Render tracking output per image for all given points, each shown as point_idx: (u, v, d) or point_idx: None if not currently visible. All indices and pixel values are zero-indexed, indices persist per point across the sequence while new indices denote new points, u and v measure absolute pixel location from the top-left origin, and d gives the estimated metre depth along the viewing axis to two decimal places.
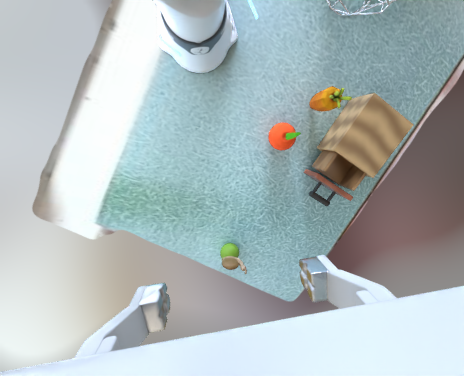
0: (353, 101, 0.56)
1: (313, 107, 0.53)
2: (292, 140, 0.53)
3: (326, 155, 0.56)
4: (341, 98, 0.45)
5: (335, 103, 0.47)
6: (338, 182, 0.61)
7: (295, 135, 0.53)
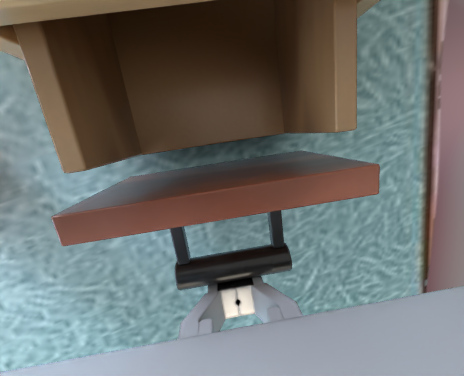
0: None
1: None
2: None
3: None
4: None
5: None
6: (276, 128, 0.13)
7: None
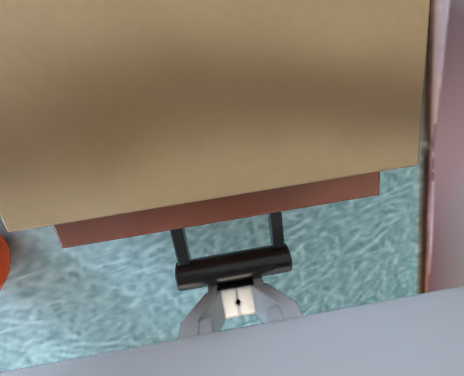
0: None
1: None
2: None
3: None
4: None
5: None
6: None
7: None
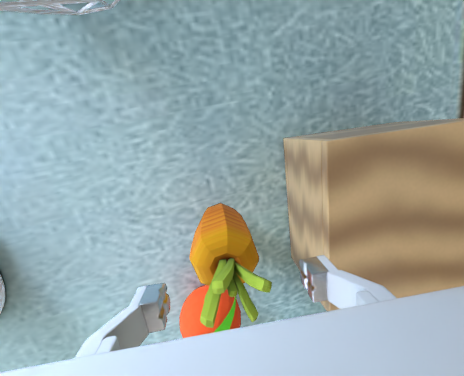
0: (292, 150, 0.22)
1: None
2: None
3: None
4: None
5: None
6: None
7: (226, 327, 0.21)
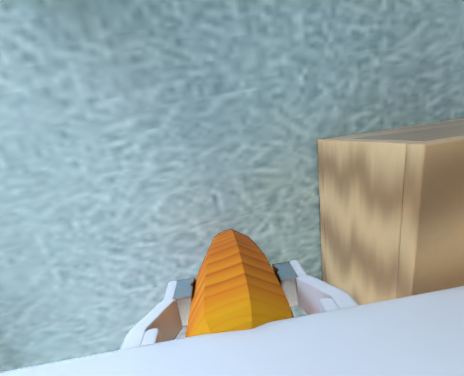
0: (335, 157, 0.15)
1: None
2: None
3: None
4: None
5: None
6: None
7: None
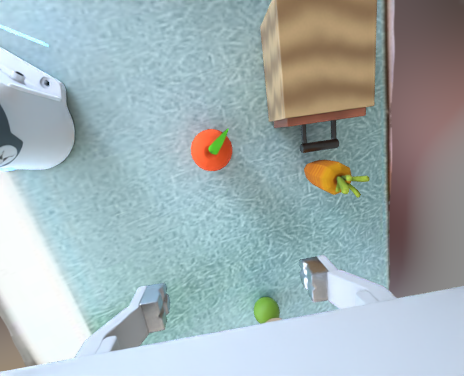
0: (264, 26, 0.33)
1: None
2: (223, 148, 0.34)
3: None
4: (352, 180, 0.30)
5: (346, 183, 0.31)
6: None
7: (221, 140, 0.33)
